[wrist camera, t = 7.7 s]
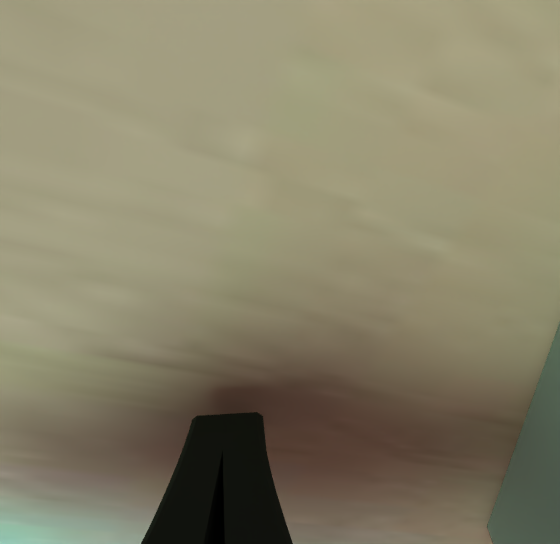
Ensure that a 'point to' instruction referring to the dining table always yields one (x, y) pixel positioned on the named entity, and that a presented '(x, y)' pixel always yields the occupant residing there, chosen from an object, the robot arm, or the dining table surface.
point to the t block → (534, 468)
